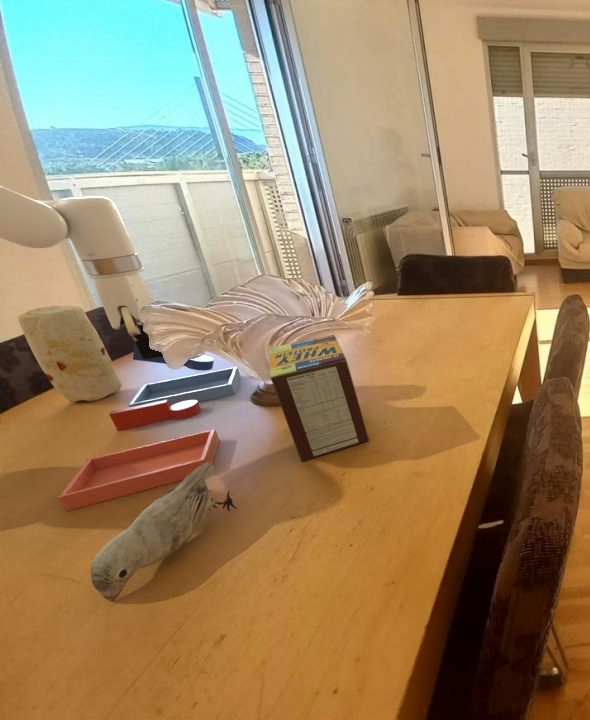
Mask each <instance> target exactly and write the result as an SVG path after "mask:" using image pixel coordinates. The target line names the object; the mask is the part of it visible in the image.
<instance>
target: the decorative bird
mask: <svg viewBox="0 0 590 720" xmlns="http://www.w3.org/2000/svg"><path fill="white" fill-rule="evenodd" d="M215 469H216V466H215V465H213V464H212V465H210V463H208V462H207V463H204V464H203V465H201V466H199V467H198V468H196V469H195V470H194V471H193V472H192V473H191V474H190V475H188V476H187V477H186V478H185V479H183V480H181V482H180V483H179V484H178V485H176V486H175V487H173V488H171V489H170V490H168V491H167V492H165V493H163V494H162V495H161V496H159V497H158V498H157V499H155V500H154V501H153V502H152V503H151V504H150V505H148V506H147V507H146V508H145V509H144V510H143V511H141V513H140V514H139V515H138V516H137V517H136V518H135V519H134V521H133V522H132V523H131V524H130V525H129V526H128V527H127V528H126V529H125V530H124V531H122V532H121V533H119V534H118V535H116V536H115V537H113V538H112V539H111V540H110V541H108V542H107V543H106V544H105V545H103V546H102V548H101V549H100V550H98V552H97V553H96V554H95V556H94V557H93V559H92V561H91V567H90V580H91V584H92V586H93V587H94V589H95V590H96V591H97V592H98V593H99V595H100V596H101V597H103V598H104V599H105V600H107V601H109V602H114V601H116V599H117V598H118V596H119V595H120V594H121V593H122V591H123V590H124V588H125V586H126V584H127V583H128V582H129V580H130V579H131V578H132V577H133V576H134V575H135V574H136V573H137V572H138V571H139V570H140V569H143V568H146V567H150V566H152V565H154V564H157V563H158V562H160V561H161V560H163V559H165V558H166V557H168V556H170V555H171V554H174V553H175V552H177V551H178V550H179V549H182V548H183V546H184V545H186V544H187V542H188V541H189V540H190V539H191V537H192V536H193V535H194V533H195V531H196V530H197V528H198V527H199V525H200V523H201V522H202V521H203V520H204V518H205V517H206V515H207V512H208V511H209V512H212V511H211V508H212V507H213V508H215V509H218V507H217V506H216V505H218V506H221V505H223V506H222V509H223V510H224V509H225V508H226V509H227V511H229V512H231V510H230V506H231V507H232V508H234V509H237V507H236V505H234V503H233V499H232V498H231V496H230V489H228V491H227V494H226V499H225V500H224V501H222V502H220V501H217V500H214V499H213V498H212V495H211V490H210V489H209V488H208V484H207V482H206V480H207V478H209V476H210V474H211V473H212V472H213V471H214V470H215Z"/></svg>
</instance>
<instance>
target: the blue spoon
mask: <svg viewBox="0 0 590 720" xmlns="http://www.w3.org/2000/svg"><path fill="white" fill-rule="evenodd" d="M134 343H135V342H134ZM132 354H133V355H132V360H133V361H142V362H149V363H157V364H165V365H168V364H167V363H166V362H165V360H164V358H163V356H161V357H156V358H150V359H143V358H142V355H141V353H140V351H139V349H138V347H137V345H136V343H135V344H134V349H133V353H132ZM201 355H202V356H200V357H198V358H195V359H189V360H188V361H187V362H186V363H185V364H184V365H183V366H182V367H186V368H187V369H190V370H193V371H210V370H212V369H213V368H214V363H215V358H213V357H212V356H209V355H206V354H201Z"/></svg>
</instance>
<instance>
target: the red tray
mask: <svg viewBox="0 0 590 720" xmlns="http://www.w3.org/2000/svg"><path fill="white" fill-rule="evenodd" d="M220 442H221V440H220V436H219V434H218V432H217V430H216V428H212V429H209V430H205V431H200V432H196V433H193V434H188V435H183V436H179V437H175V438H171V439H166V440H162V441H158V442H154V443H150V444H146V445H142V446H137V447H133V448H129V449H125V450H120V451H116V452H112V453H108V454H103V455H100V456H96V457H95V456H94V457H92V458H87V459H86V460H85V462H83V464H82V465H81V467H80V468H79V469H78V471H77V472H76V474H75V475H74V476H73V477H72V479H71V480H70V481H69V483H67V485H66V487H65V488H64V489H63V491H62V492H61V493H60V495H58V497H57V498H58V500H59V502H60V503H61V505H62V506H63V508H64V510H65V511H66V512H69V511H72V510H76V509H80V508H84V507H87V506H90V505H95V504H99V503H102V502H106V501H109V500H113V499H116V498H120V497H123V496H127V495H131V494H135V493H139V492H142V491H146V490H149V489H153V488H158V487H161V486H165V485H169V484H172V483H175V482H179V481H183V480H184V479H185V478H186V477H187V476H188V475H190V474H191V473H192V472H193V471H194V470H195V469H196V468H198V467H199V466H201V465H203V464H204V463H207V462H208V463H210V465H213V464H214V461H215V457H216V454H217V451H218V448H219V444H220Z"/></svg>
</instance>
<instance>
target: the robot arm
mask: <svg viewBox="0 0 590 720" xmlns="http://www.w3.org/2000/svg"><path fill="white" fill-rule="evenodd" d="M0 239H2V240H5V241H7V242H11V243H13V244H16V245H18V246H21V247H25V248H30V249H47V248H51V247H54V246H58V245H59V244H60V243H62V242H63V241H64V240H68V239H69V240H70V241H71V243H72V245H73V247H74V250H75V251H76V253H77V256H78V257H79V260H80V262H81V264H82V266H83V268H84V270H85V272H86V274H87V276H88V278H89V279H93V281H94V286H95V288H96V292H97V295H98V297H99V300H100V303H101V305H102V307H103V309H104V312H105V314H106V317H107V319H108V321H109V323H110V324H109V325H110V326H111V328H112V329H114V330H117V331H119V330H121V329H122V328H123V327H125V328H126V330H127V334H128V335H129V336H131V337H132V340H133V341H134V343H136V345H137V347H138V349H139V351H140V353H141V355H142V358H143V359H150V358H156V357H161V356H163V355H162V353H161V352H159V351H155V350H152V349H150V347H149V337H148V335H147V334H146V333H145V332H144V331H143V324H142V321H141V319H140V317H139V315H138V310H139V309H140V308H142V307H143V306H146V305H148V304H151V303H154V304H155V302H154V300H153V298H152V295H151V293H150V291H149V289H148V287H147V286H146V283H145V281H144V279H143V276H142V275H141V274H140V273H143V272H144V271H145V269H144V266H143V264H142V263H141V259H140V258H139V256H138V253H137V251H136V248H135V246H134V243H133V242H132V240H131V239H132V238H131V237H130V235H129V233H128V230H127V228H126V226H125V223H124V221H123V218H122V217H121V215H120V212H119V210H118V207H117V206H116V204H115V203H114V201H113V200H111V199H110V198H108V197H106V196H105V197H104V196H79V197H66V198H61V199H59V200H35V199H33V198H31V197H28V196H27V195H23V194H21V193H18V192H16V191H14V190H11V189H9V188H7V187H5V186H2V185H0Z"/></svg>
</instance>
